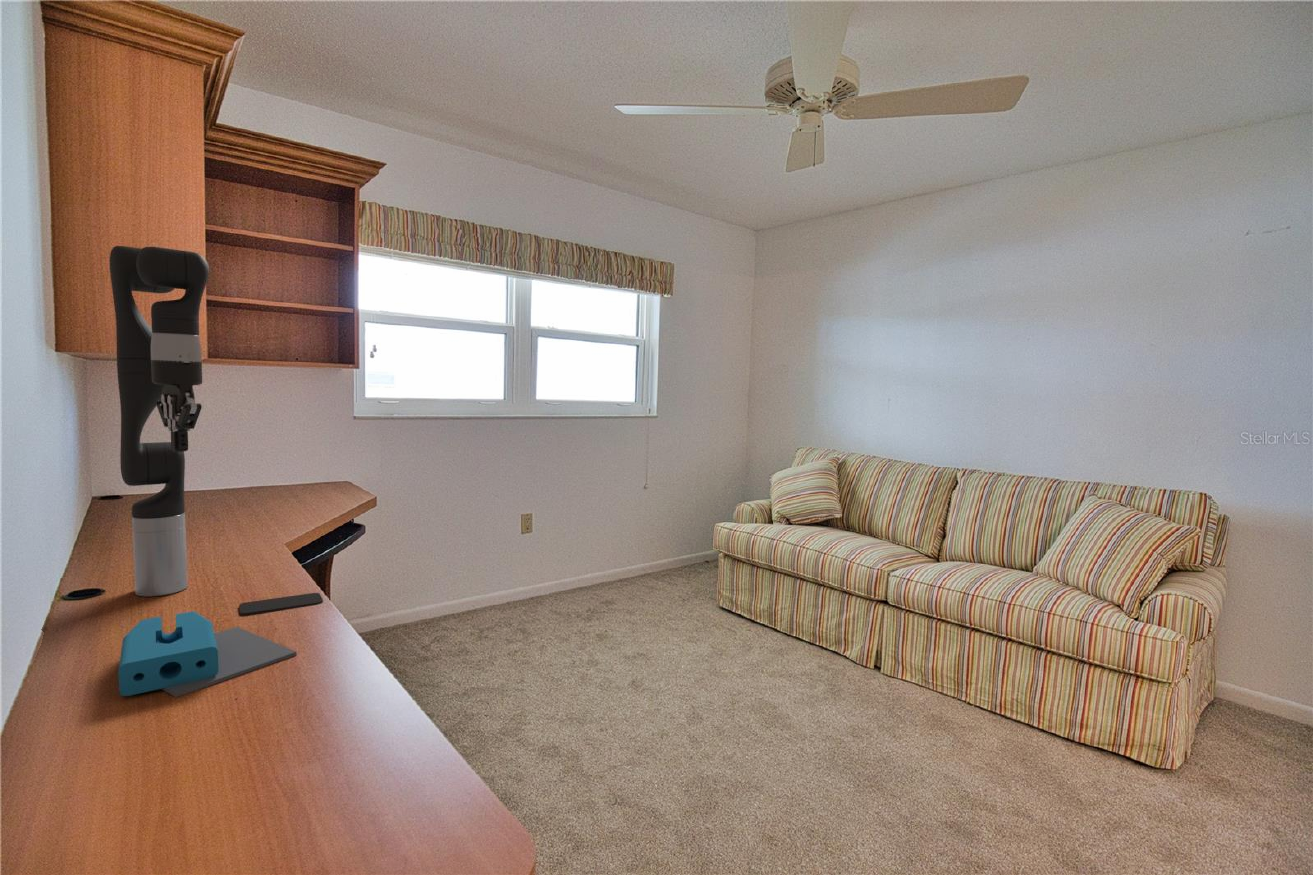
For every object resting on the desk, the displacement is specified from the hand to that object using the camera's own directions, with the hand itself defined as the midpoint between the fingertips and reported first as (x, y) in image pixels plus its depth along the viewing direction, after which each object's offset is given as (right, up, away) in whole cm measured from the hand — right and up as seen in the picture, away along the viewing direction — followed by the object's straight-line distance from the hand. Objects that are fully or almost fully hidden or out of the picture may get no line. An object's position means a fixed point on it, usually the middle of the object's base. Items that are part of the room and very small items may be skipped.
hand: (179, 451), depth 118 cm
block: (+3, -32, -7) cm, 32 cm away
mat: (+14, -35, -12) cm, 40 cm away
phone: (+10, -34, +15) cm, 38 cm away
